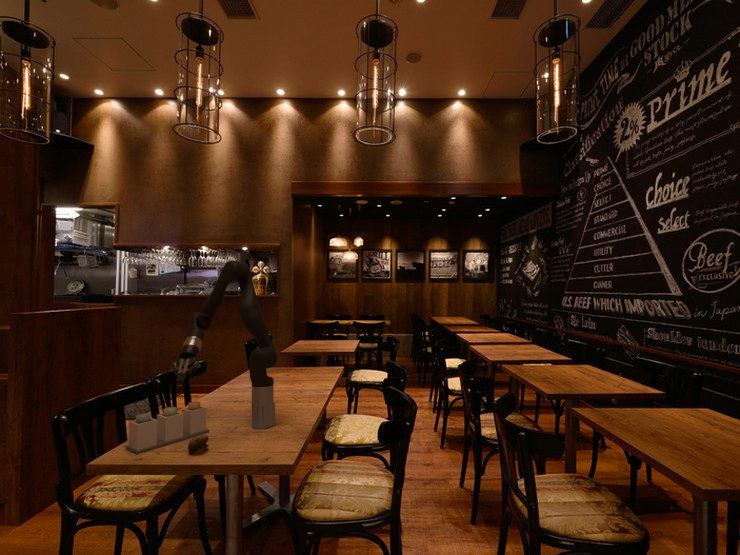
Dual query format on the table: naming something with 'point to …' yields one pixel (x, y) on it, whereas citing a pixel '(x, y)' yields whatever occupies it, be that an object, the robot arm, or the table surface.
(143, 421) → the slate button
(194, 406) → the terracotta button
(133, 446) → the button stand
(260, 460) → the table surface
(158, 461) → the table surface
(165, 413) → the sage button
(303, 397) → the table surface
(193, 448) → the mushroom
